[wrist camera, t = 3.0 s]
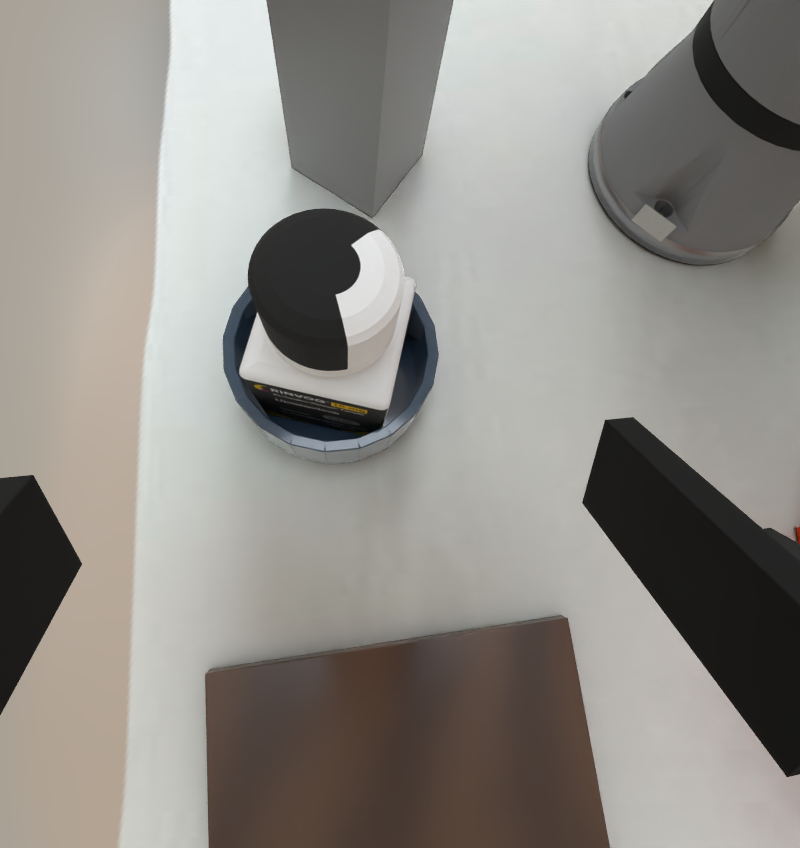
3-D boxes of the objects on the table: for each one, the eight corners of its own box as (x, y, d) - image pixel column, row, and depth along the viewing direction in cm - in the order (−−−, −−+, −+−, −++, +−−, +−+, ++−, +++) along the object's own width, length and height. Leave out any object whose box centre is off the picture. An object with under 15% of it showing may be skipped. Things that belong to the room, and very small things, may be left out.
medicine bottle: (263, 414, 27) (201, 327, 16) (293, 309, 29) (258, 163, 18) (378, 439, 28) (401, 374, 16) (401, 335, 30) (437, 209, 18)
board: (561, 615, 27) (568, 617, 26) (612, 897, 24) (621, 909, 23) (209, 669, 24) (204, 673, 23) (216, 995, 21) (211, 1013, 20)
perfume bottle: (291, 167, 32) (225, -272, 14) (345, 106, 34) (344, -352, 16) (372, 217, 32) (404, -166, 14) (422, 154, 33) (505, -258, 16)
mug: (435, 454, 28) (451, 440, 24) (245, 472, 27) (226, 461, 22) (408, 252, 31) (417, 207, 27) (237, 258, 30) (218, 211, 25)
